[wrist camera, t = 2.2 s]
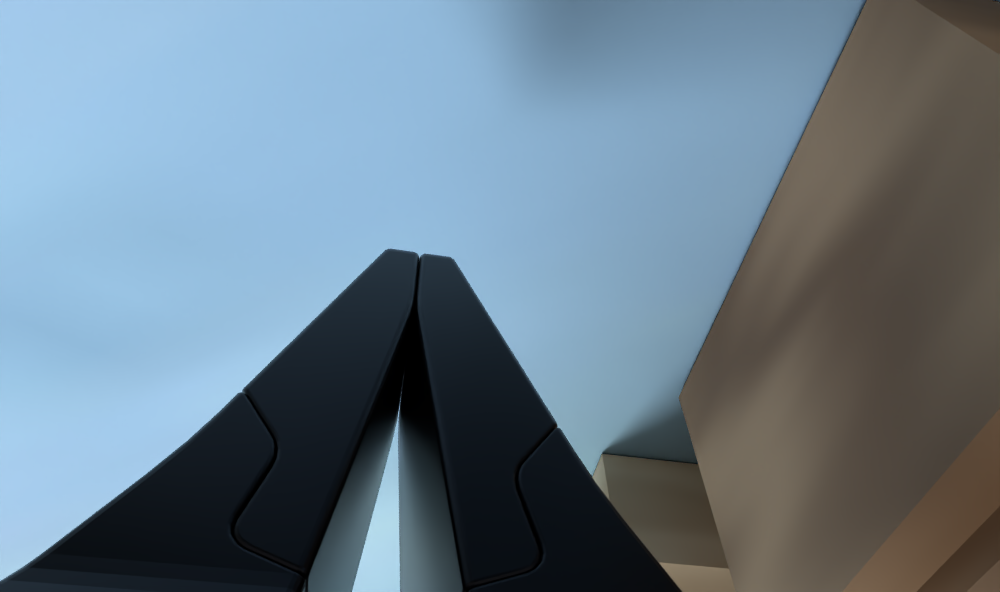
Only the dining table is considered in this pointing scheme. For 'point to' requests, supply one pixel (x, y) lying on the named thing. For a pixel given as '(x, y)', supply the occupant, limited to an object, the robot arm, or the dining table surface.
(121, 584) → the robot arm
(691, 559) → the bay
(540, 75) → the dining table surface
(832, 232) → the crate
